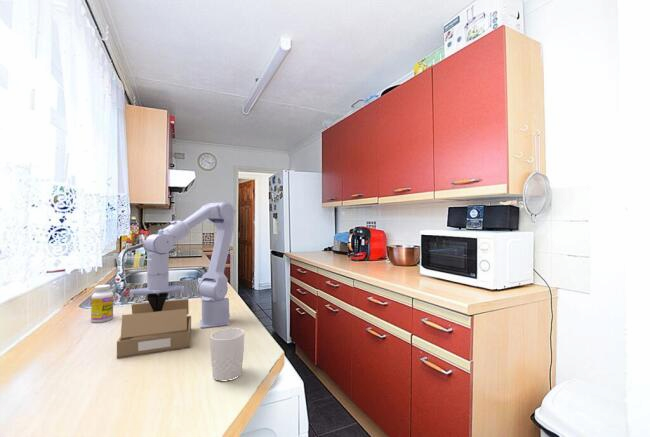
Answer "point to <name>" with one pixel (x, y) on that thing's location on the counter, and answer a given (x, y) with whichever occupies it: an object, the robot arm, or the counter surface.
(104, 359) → the counter surface
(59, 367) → the counter surface
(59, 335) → the counter surface
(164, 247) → the robot arm
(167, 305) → the far flap
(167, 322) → the near flap
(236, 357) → the white cup
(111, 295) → the supplement bottle
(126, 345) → the carton
